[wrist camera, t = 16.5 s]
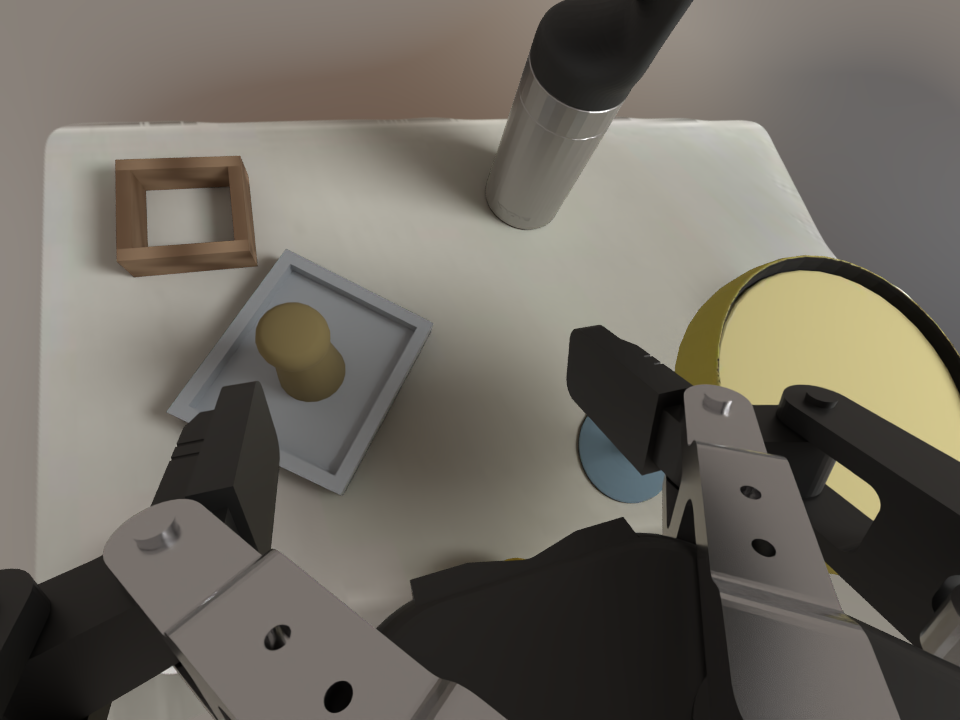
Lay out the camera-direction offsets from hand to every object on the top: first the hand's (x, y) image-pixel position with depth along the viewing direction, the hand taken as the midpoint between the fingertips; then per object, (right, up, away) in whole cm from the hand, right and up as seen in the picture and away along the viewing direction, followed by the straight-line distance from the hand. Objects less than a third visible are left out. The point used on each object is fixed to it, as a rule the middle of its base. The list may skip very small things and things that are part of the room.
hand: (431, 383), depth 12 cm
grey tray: (-15, 0, +32) cm, 35 cm away
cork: (-15, 0, +31) cm, 34 cm away
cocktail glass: (+17, -9, +36) cm, 41 cm away
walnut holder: (-28, +14, +34) cm, 46 cm away
